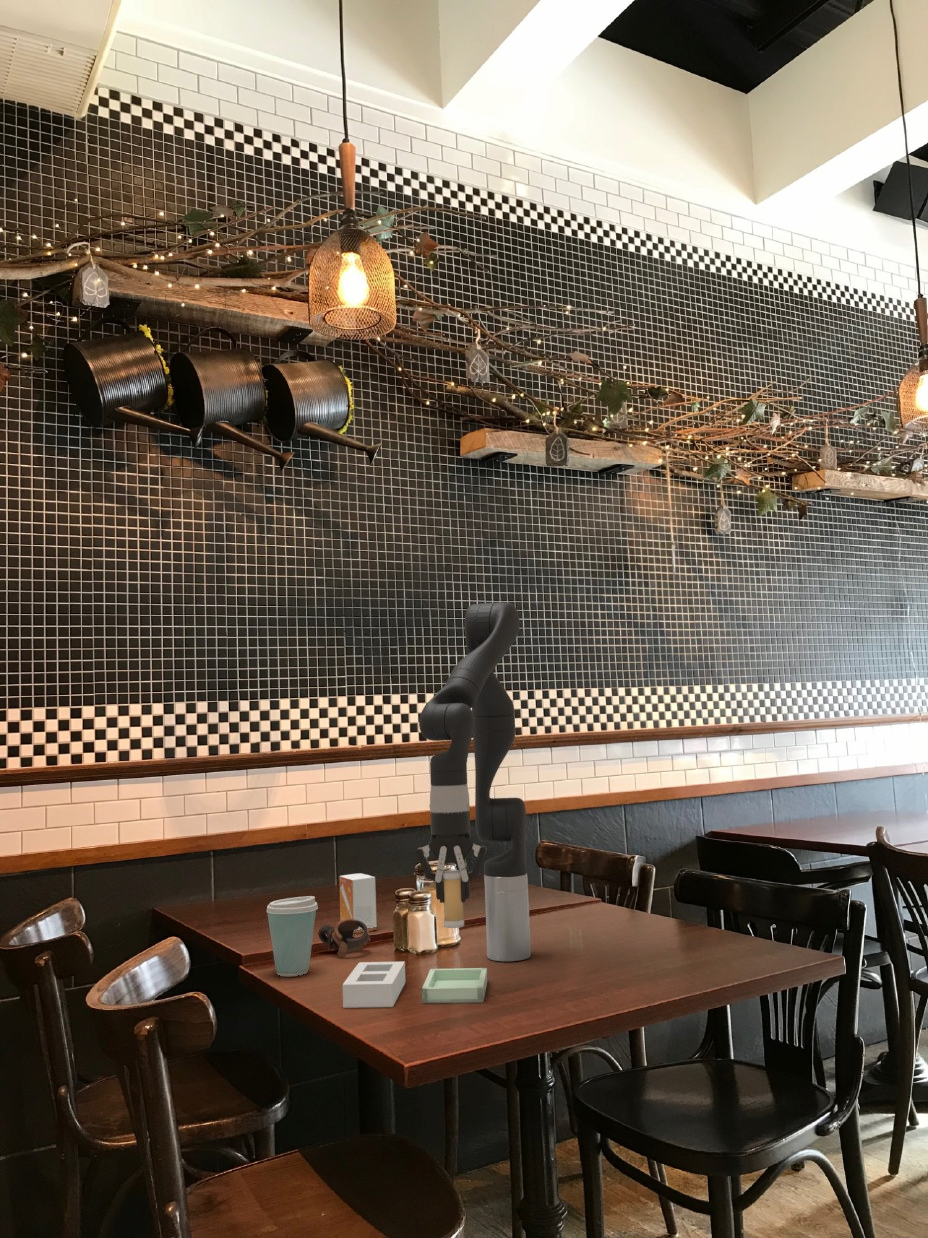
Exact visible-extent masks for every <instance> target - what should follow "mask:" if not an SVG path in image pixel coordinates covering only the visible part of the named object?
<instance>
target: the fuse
mask: <svg viewBox="0 0 928 1238" xmlns="http://www.w3.org/2000/svg"><path fill="white" fill-rule="evenodd" d="M442 879H443V891H444V903H443V917H444V918H443V927H444V928H446V929H461V928H463V927H465V918H464V902H462V889H461V882H462V877H461V873H460V870H459V869H448V870H447V869H446V870H444V871H443V875H442Z"/></svg>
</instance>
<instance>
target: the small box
mask: <svg viewBox="0 0 928 1238" xmlns="http://www.w3.org/2000/svg"><path fill="white" fill-rule="evenodd" d="M338 878H339V879H338V880H339V883H338V884H339V922H340V921H341V920H345V919H355V920H359V921H361V922H363V923H364V924H365V925H366V926H367V928H373V927H378V925H377V899H376V898H377V893H376V892H377V891H376V876H372V875H369V874H365V873H361V872H360V873H351V874H350V873H349V874H343V875H339V876H338ZM360 929H362V928H361V927H359V928H358V929H357V930H360Z"/></svg>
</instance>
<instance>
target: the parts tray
mask: <svg viewBox="0 0 928 1238" xmlns="http://www.w3.org/2000/svg"><path fill="white" fill-rule="evenodd" d="M488 980H489V979H488V967H474V968H473V967H469V968H466V967H465V968H463V967H462V968H430V969H429V971H428V974H427V976H426V979H425V981H424V983H423V986H422V988H421V1004H451V1003H453V1004H458V1003H459V1004H461V1003H462V1004H463V1003H464V1004H467V1003H484V1000H485V996H486V991H487V987H488Z"/></svg>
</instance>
